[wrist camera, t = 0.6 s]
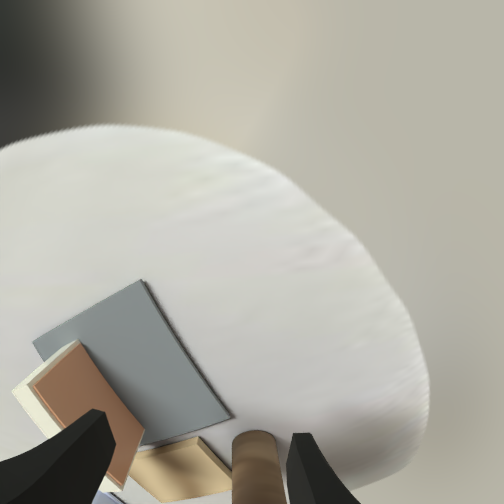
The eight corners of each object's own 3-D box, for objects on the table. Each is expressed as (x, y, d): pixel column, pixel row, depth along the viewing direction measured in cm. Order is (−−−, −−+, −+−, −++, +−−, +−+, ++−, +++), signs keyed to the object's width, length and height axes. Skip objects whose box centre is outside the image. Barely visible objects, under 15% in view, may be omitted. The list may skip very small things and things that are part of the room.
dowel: (244, 462, 21) (248, 524, 14) (223, 439, 20) (221, 504, 13) (282, 449, 21) (295, 511, 14) (264, 424, 20) (273, 491, 13)
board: (163, 496, 21) (161, 502, 20) (118, 456, 20) (115, 463, 19) (239, 479, 21) (239, 487, 20) (198, 436, 20) (196, 444, 19)
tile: (127, 434, 19) (102, 492, 13) (62, 347, 18) (11, 391, 11) (147, 428, 19) (124, 490, 13) (80, 337, 18) (28, 383, 11)
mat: (115, 448, 20) (114, 451, 20) (34, 340, 18) (32, 342, 18) (229, 415, 20) (229, 418, 20) (141, 278, 18) (139, 280, 18)
